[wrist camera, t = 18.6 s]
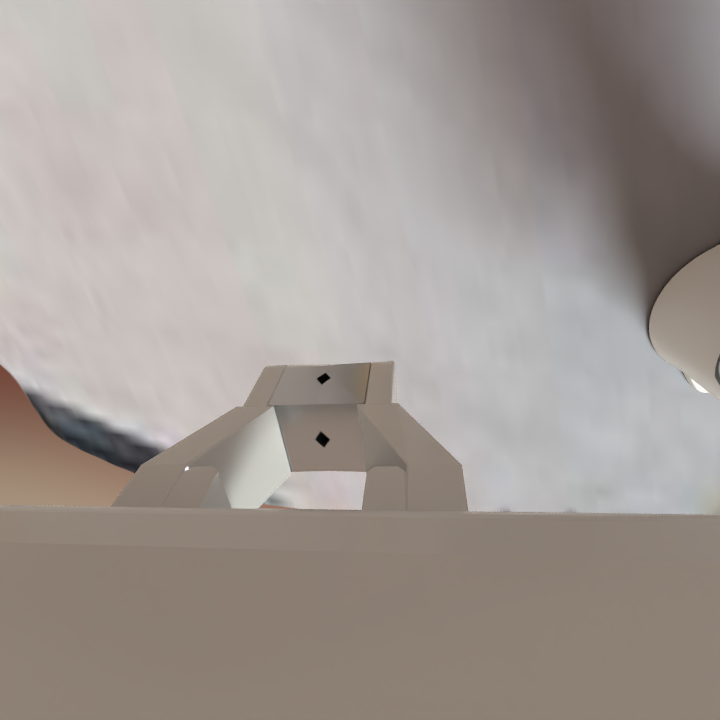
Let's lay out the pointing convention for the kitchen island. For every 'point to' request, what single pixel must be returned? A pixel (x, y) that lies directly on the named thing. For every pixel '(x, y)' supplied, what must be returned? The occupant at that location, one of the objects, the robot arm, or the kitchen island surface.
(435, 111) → the kitchen island surface
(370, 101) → the kitchen island surface
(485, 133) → the kitchen island surface
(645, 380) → the kitchen island surface
